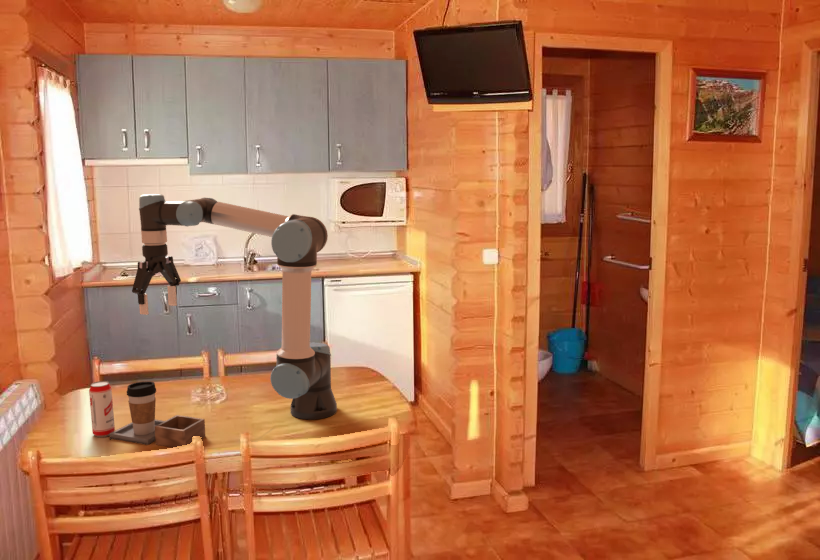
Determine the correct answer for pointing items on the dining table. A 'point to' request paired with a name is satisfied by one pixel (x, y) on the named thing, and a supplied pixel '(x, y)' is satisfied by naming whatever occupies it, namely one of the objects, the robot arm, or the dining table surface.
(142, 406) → the coffee cup
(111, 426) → the beer can
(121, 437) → the slate tray
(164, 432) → the walnut crate
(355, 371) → the dining table surface
